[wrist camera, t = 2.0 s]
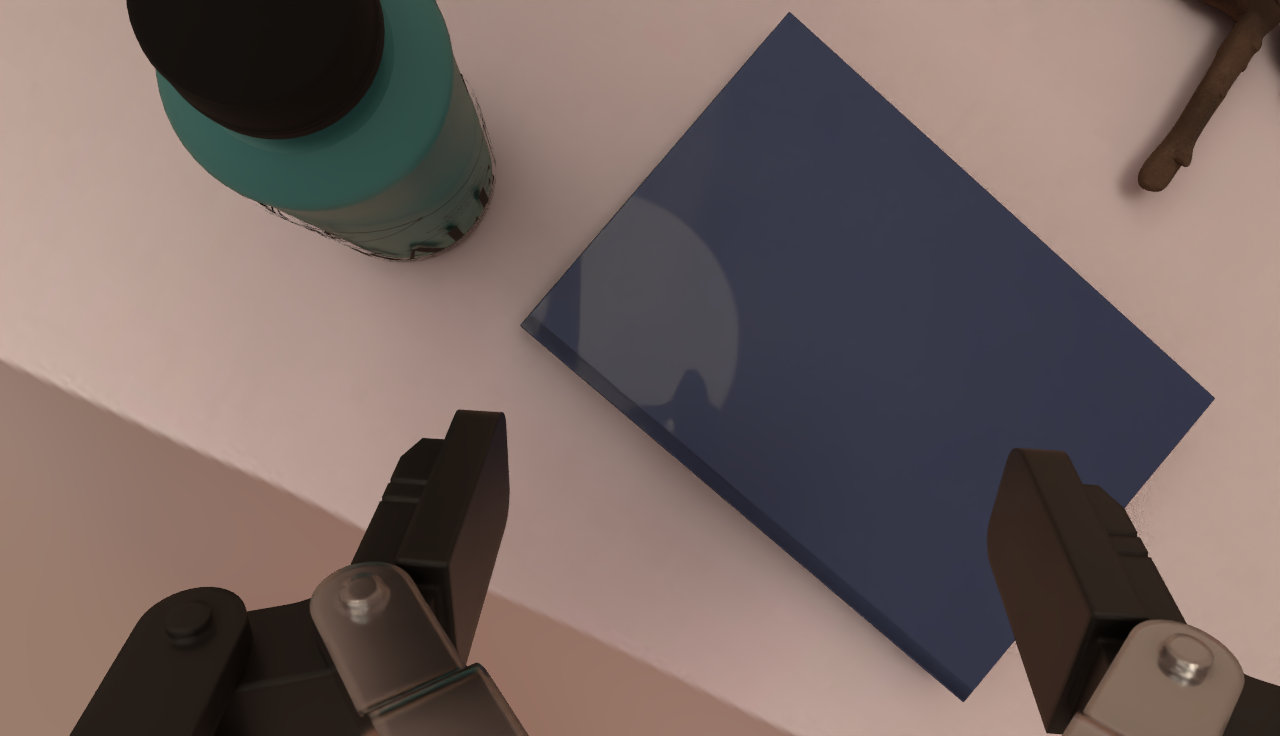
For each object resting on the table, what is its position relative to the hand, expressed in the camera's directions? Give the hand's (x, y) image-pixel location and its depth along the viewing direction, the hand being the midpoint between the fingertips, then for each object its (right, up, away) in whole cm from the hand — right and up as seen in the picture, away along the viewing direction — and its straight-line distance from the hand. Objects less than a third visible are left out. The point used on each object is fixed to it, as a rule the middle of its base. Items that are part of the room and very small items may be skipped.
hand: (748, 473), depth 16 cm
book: (+7, +2, +22) cm, 23 cm away
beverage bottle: (-10, +9, +21) cm, 25 cm away
